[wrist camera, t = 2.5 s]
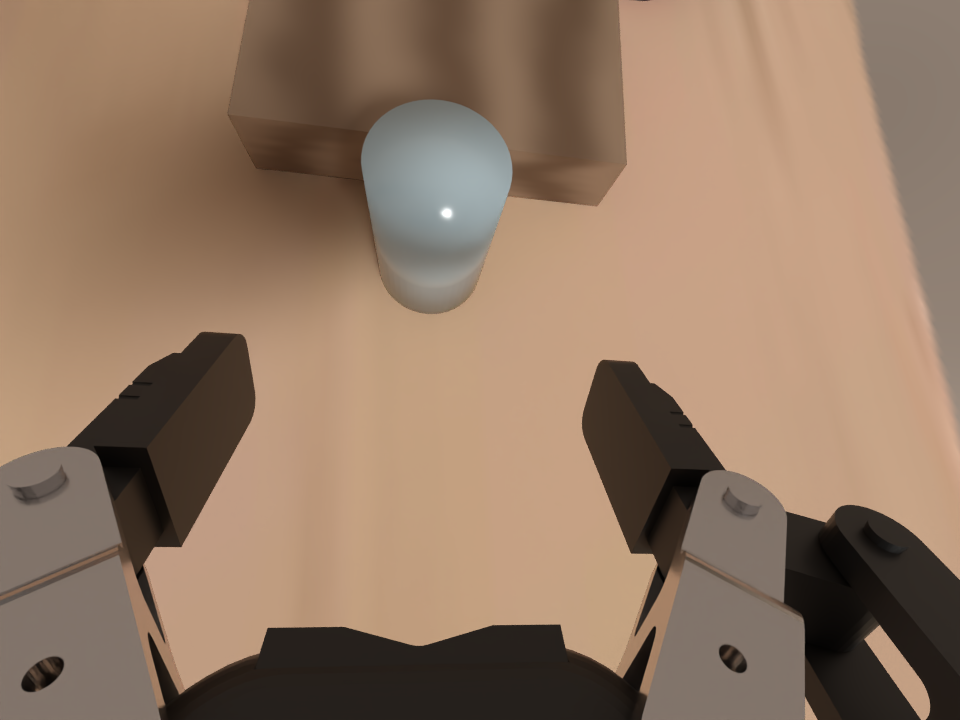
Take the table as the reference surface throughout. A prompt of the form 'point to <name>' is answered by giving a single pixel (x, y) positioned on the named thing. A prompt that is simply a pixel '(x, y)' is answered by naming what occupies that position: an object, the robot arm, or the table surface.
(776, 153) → the table surface
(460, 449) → the table surface
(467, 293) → the ceramic jar
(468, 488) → the table surface
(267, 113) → the walnut stand
